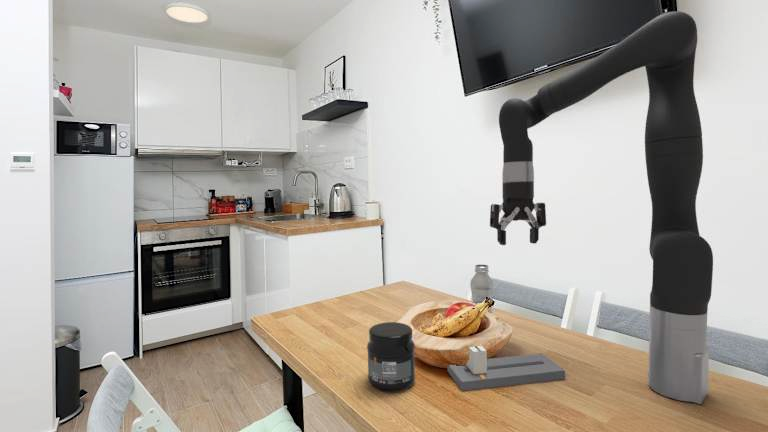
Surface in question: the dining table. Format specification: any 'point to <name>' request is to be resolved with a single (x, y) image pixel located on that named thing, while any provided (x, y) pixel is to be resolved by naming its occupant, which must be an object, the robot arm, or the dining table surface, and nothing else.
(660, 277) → the robot arm
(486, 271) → the plastic bottle
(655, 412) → the dining table surface
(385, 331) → the supplement container
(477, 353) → the block
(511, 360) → the slider board
